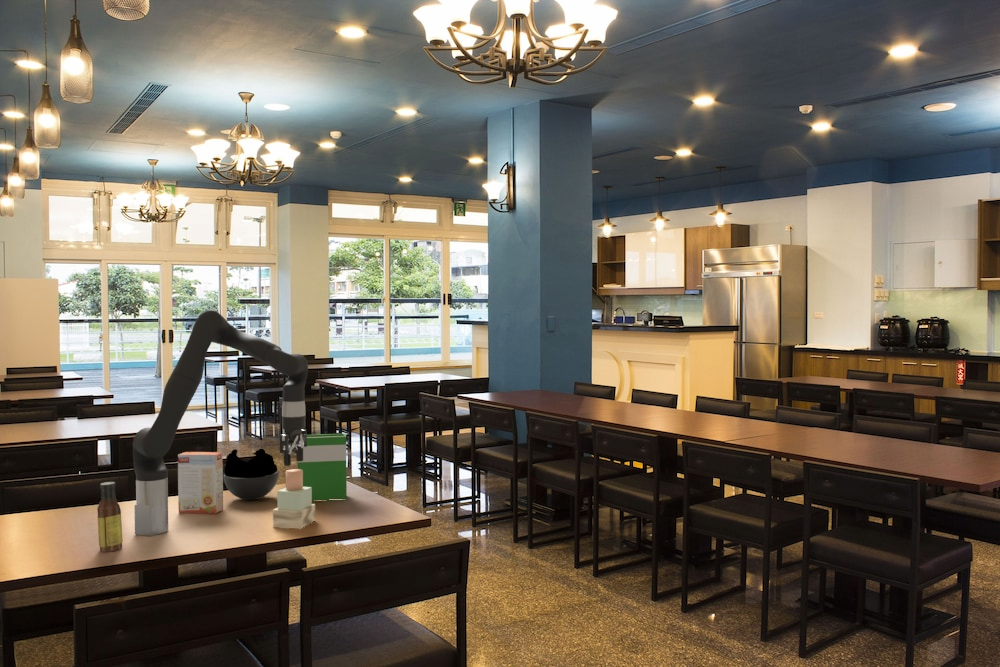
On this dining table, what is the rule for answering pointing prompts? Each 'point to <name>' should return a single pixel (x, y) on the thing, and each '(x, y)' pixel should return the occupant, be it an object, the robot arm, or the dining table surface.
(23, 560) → the dining table surface
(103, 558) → the dining table surface
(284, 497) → the sage block
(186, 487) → the cracker box
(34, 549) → the dining table surface
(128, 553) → the dining table surface
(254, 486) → the bowl of black rocks
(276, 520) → the birch base block
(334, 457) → the hardback book
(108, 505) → the sauce bottle
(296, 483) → the coral cylinder
